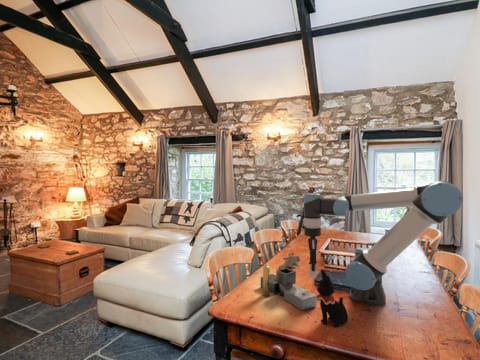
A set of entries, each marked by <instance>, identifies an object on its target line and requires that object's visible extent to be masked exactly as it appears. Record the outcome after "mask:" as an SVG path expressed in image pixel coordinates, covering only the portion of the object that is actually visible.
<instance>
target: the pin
mask: <svg viewBox="0 0 480 360" xmlns="http://www.w3.org/2000/svg"><path fill="white" fill-rule="evenodd" d="M262 277H263V288H262V296H263V297H265V298H269V297H270V292H269V278H270V265H267V264H266V265H263V266H262Z"/></svg>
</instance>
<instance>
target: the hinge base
mask: <svg viewBox="0 0 480 360" xmlns="http://www.w3.org/2000/svg"><path fill="white" fill-rule="evenodd" d="M296 275H297V272H296V270H294V269H290V268H289V267H285V268H283V269H280V268H279V269H277V270H276V273H275V274H273V273H271V274H270V278H269V293H271V294H273V295H276V294H278V296H279V297H281V298H283V299H284V289H287V288H290V287H294V285H296V282H297V281H296V280H297V279H296V278H297V276H296ZM260 288H262V289H263V276H261V277H260Z"/></svg>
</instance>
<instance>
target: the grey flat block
mask: <svg viewBox="0 0 480 360" xmlns="http://www.w3.org/2000/svg"><path fill="white" fill-rule="evenodd" d="M316 296H317V294H315V293H313V292H311V291H308V290H307V289H305V288H303V287H301V286H299V285H295V286H294V285H293V287H290V288H287V289H284V298H283V300H285V301H287V302H288V303H290V304H291V305H293V306H295V307H296V308H298V309H299V310H301V311H305V310H308V309H311V308H314V307H317V300H316Z"/></svg>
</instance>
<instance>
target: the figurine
mask: <svg viewBox="0 0 480 360" xmlns="http://www.w3.org/2000/svg"><path fill="white" fill-rule="evenodd" d="M320 273H321V278H322V279H321V280H319V284H318V286H317V288H316V291H317V292H318V295H317V294H316V302H318V301H320V303H319V305H320V311H321V315H322V319H321V320H320V322H321V323H322V325H324V326H326V325H328V320H330V321H331V322H332V323H333V324H332V327H333V328H338V327H340V325H341V326H343V325H345V324H346V323H347V322H348V320H349V315H348V311H347V309H346V307H345V305H344V298H343V296H340V297H339V301H337V300H336V299H335V297H334V295H333V294H334V293H335V285H334V282H332V280H331V277H330V276H329V275H327V273H326V272H325V270H324V269H323V268H321V271H320Z"/></svg>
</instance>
